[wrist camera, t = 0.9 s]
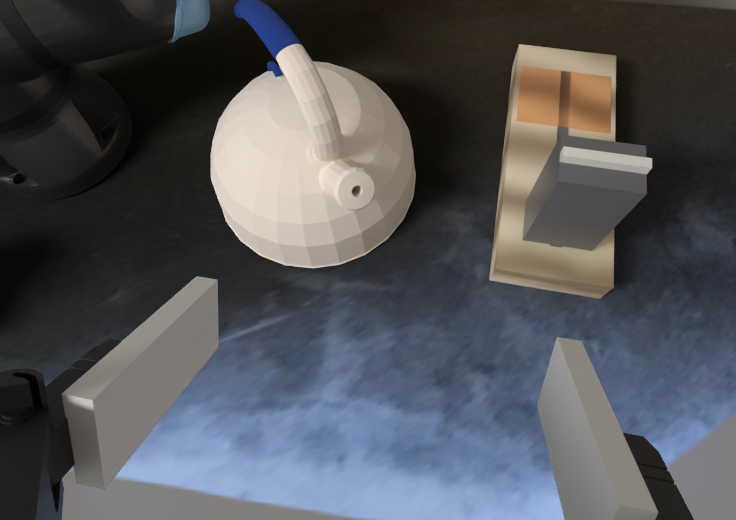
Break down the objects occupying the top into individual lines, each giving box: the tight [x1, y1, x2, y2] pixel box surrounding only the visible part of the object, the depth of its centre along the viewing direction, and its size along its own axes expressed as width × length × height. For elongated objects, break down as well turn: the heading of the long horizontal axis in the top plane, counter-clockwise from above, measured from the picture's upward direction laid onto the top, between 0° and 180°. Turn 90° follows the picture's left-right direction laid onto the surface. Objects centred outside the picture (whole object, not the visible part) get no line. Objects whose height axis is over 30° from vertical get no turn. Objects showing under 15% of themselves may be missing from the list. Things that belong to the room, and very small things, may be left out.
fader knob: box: [522, 135, 652, 251], centre depth 40 cm, size 4×6×11 cm, turn 79°
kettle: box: [211, 0, 416, 268], centre depth 43 cm, size 20×21×18 cm
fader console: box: [489, 44, 616, 299], centre depth 49 cm, size 26×10×3 cm, turn 169°
